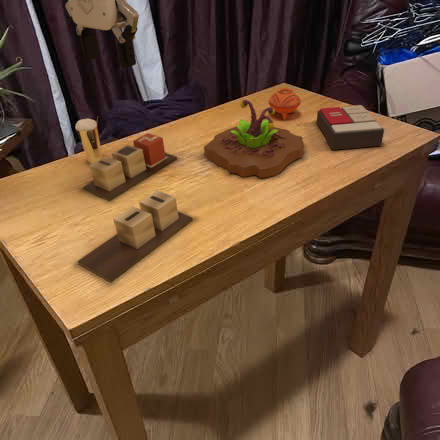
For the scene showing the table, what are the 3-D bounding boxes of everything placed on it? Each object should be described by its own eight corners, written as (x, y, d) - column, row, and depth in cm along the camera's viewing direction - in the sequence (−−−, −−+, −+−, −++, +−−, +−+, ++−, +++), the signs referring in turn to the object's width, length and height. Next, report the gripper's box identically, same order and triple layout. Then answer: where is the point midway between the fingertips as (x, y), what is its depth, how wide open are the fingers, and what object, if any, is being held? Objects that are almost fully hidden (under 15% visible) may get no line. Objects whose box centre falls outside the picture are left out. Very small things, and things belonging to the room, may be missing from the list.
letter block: (136, 160, 94) (132, 140, 90) (151, 152, 96) (147, 132, 93) (151, 165, 91) (147, 145, 88) (165, 157, 94) (162, 137, 91)
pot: (261, 118, 107) (264, 88, 103) (274, 114, 112) (277, 86, 109) (291, 122, 103) (295, 91, 100) (303, 118, 109) (307, 89, 106)
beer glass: (107, 165, 94) (95, 119, 87) (83, 166, 94) (70, 121, 87) (111, 155, 97) (100, 111, 90) (88, 156, 98) (75, 112, 91)
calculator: (363, 103, 102) (385, 126, 90) (360, 121, 104) (381, 146, 93) (317, 106, 101) (334, 130, 90) (315, 125, 104) (331, 150, 93)
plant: (247, 126, 104) (246, 77, 96) (316, 147, 95) (322, 95, 87) (190, 158, 94) (185, 107, 86) (261, 186, 84) (262, 130, 77)
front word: (78, 264, 70) (68, 238, 67) (160, 206, 81) (156, 182, 78) (110, 282, 67) (102, 256, 63) (192, 220, 77) (189, 195, 74)
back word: (83, 189, 87) (75, 166, 84) (151, 150, 98) (147, 128, 95) (109, 201, 84) (103, 177, 80) (177, 159, 94) (173, 136, 91)
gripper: (33, -58, 68) (64, 60, 80) (105, -54, 60) (128, 76, 72) (70, -63, 72) (95, 50, 84) (143, -60, 64) (158, 64, 76)
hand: (110, 62), depth 78 cm, fingers open, 9 cm apart
